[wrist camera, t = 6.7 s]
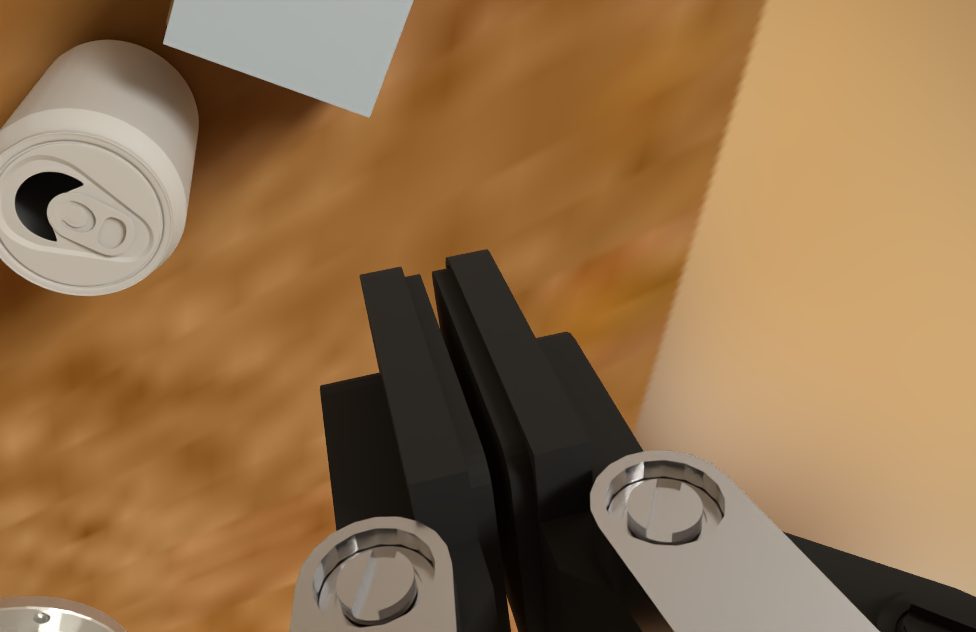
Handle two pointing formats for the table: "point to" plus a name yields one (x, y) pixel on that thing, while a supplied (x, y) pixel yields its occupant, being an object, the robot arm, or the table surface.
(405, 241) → the table surface
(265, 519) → the table surface
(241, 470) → the table surface
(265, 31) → the pale gray block
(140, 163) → the beverage can
